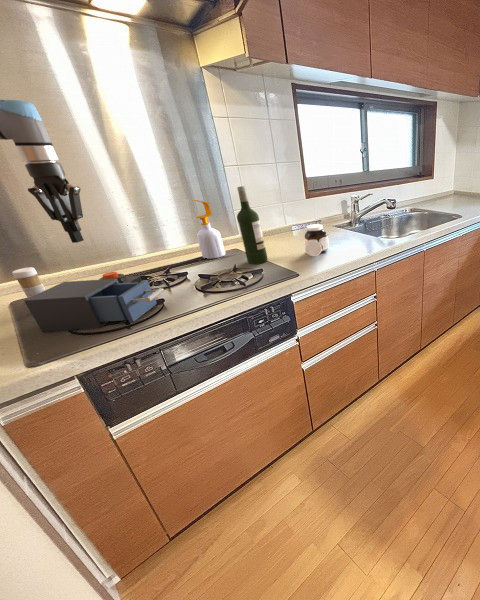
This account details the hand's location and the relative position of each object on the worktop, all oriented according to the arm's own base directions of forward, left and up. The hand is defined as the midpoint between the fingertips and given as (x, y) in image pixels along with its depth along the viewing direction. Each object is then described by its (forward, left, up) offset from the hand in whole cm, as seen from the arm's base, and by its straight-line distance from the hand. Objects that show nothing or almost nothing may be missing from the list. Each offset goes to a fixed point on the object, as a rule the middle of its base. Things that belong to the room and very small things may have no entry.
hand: (78, 241), depth 104 cm
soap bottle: (+24, +34, -18) cm, 46 cm away
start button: (+3, +2, -14) cm, 15 cm away
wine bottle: (+46, +23, -18) cm, 55 cm away
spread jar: (+70, +30, -18) cm, 78 cm away
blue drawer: (+23, -22, -17) cm, 36 cm away
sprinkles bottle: (-7, -14, -18) cm, 23 cm away
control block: (+3, +2, -18) cm, 18 cm away
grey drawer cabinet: (+11, -22, -18) cm, 30 cm away
